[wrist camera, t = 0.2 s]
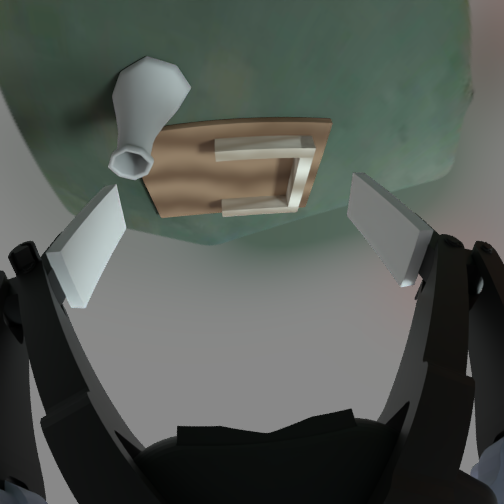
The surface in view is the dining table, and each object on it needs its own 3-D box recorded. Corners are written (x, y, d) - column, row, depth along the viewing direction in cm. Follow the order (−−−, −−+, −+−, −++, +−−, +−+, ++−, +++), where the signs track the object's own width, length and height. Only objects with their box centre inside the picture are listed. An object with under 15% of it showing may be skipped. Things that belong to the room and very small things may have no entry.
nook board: (125, 132, 25) (120, 150, 24) (330, 118, 27) (338, 135, 26) (161, 213, 41) (160, 229, 40) (304, 202, 42) (307, 218, 41)
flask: (156, 127, 26) (143, 205, 22) (100, 95, 20) (67, 173, 16) (205, 85, 22) (202, 161, 18) (146, 42, 16) (114, 108, 13)
